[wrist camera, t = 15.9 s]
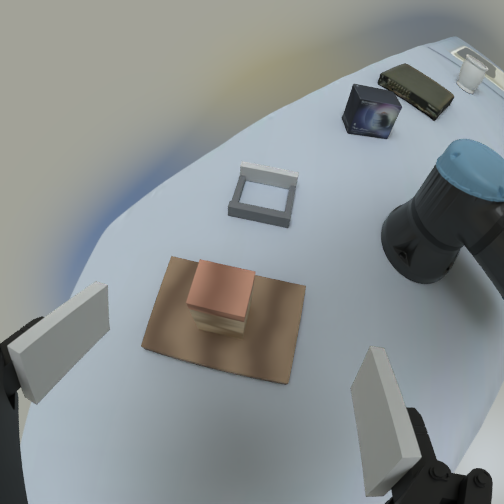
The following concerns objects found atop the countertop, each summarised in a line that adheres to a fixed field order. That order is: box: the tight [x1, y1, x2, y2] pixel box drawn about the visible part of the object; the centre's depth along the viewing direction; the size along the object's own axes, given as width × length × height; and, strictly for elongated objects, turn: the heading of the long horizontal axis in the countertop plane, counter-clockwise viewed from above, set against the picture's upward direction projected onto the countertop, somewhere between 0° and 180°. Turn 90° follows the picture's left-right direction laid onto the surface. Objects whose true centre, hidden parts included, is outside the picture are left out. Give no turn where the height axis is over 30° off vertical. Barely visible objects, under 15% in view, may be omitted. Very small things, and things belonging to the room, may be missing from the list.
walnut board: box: [141, 256, 306, 384], centre depth 41 cm, size 20×14×2 cm
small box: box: [342, 84, 402, 139], centre depth 60 cm, size 11×6×10 cm, turn 91°
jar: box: [457, 55, 488, 94], centre depth 82 cm, size 11×10×15 cm
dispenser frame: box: [228, 162, 299, 228], centre depth 51 cm, size 10×9×4 cm
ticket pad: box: [186, 259, 255, 340], centre depth 36 cm, size 6×5×11 cm
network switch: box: [378, 63, 454, 120], centre depth 76 cm, size 23×23×5 cm
